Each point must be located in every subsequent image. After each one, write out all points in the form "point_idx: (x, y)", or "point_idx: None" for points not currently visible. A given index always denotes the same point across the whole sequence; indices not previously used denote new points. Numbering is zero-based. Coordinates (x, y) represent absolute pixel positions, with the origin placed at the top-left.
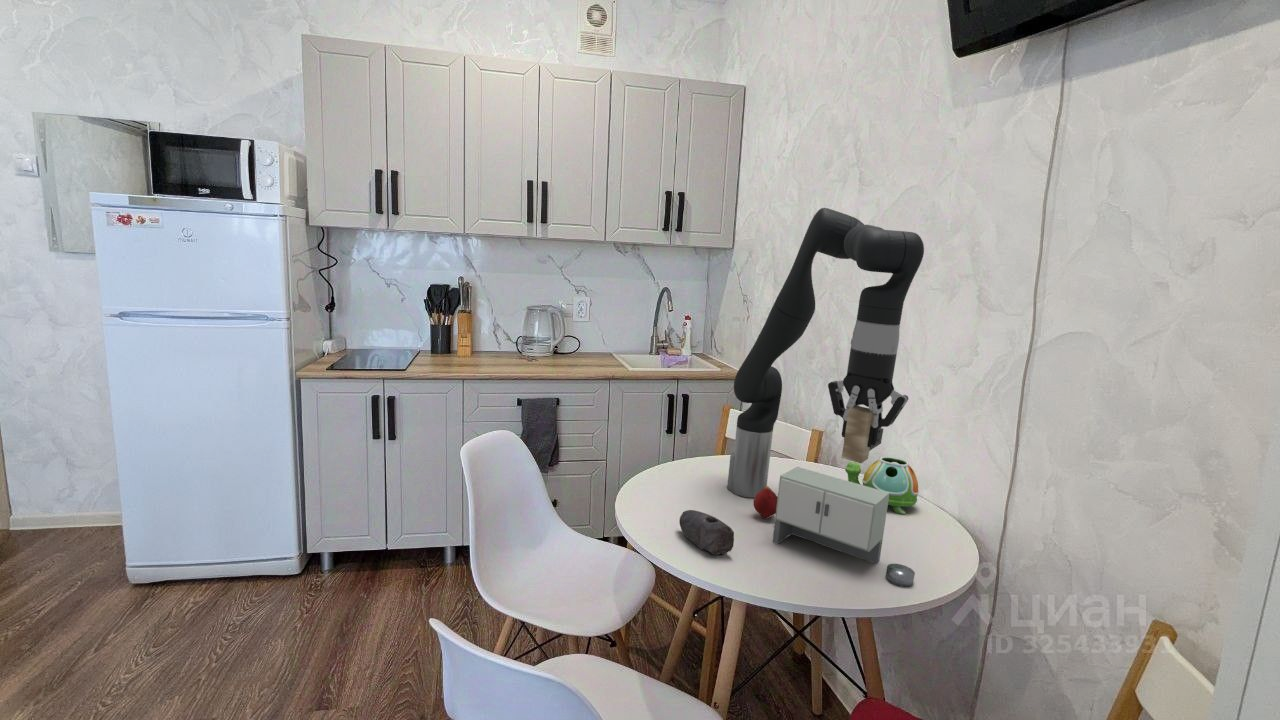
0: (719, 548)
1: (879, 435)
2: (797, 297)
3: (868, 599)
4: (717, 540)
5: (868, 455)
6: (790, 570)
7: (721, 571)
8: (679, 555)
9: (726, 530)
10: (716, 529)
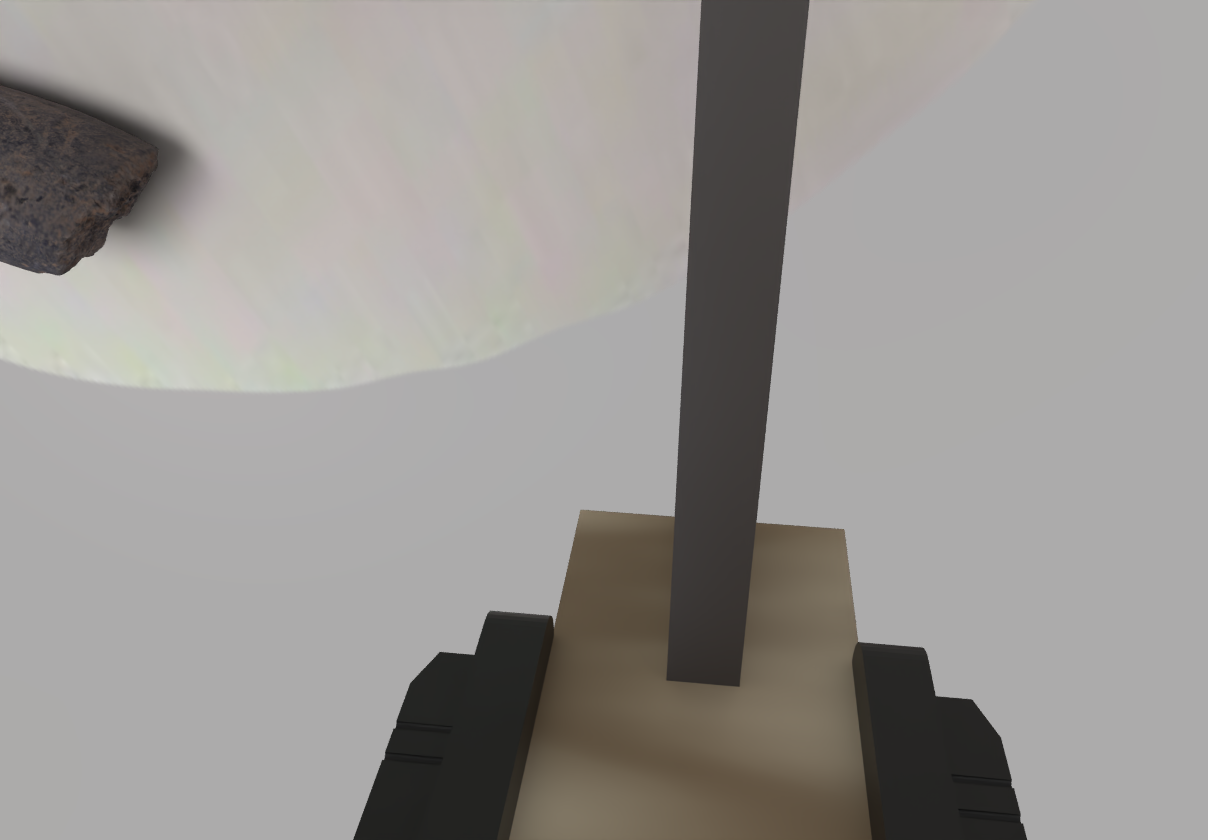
0: (126, 209)
1: (1021, 836)
2: None
3: (904, 37)
4: (96, 242)
5: (847, 558)
6: (461, 41)
7: (249, 295)
8: (39, 296)
9: (84, 231)
10: (53, 273)
